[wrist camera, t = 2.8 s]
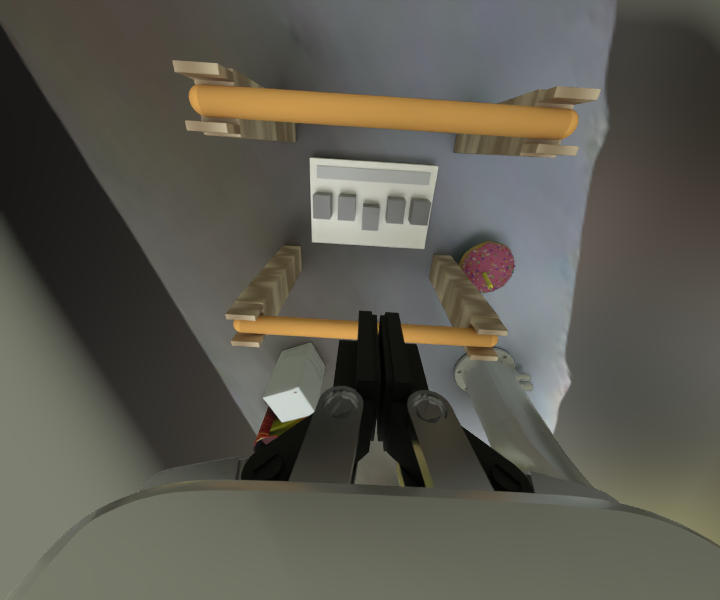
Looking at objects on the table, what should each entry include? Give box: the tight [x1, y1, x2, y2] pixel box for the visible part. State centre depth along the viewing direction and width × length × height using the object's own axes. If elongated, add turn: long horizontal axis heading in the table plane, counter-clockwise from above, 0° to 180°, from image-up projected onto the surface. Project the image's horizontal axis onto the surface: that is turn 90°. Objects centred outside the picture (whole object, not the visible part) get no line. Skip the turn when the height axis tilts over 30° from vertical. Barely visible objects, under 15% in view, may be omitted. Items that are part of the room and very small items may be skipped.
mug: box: [254, 406, 308, 452], centre depth 62 cm, size 10×14×12 cm
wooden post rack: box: [173, 60, 601, 361], centre depth 34 cm, size 29×24×22 cm
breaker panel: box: [310, 157, 438, 249], centre depth 41 cm, size 18×12×6 cm, turn 87°
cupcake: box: [458, 241, 515, 293], centre depth 43 cm, size 9×8×12 cm
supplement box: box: [263, 342, 325, 422], centre depth 54 cm, size 7×7×13 cm
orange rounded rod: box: [189, 84, 579, 140], centre depth 21 cm, size 29×2×2 cm, turn 87°
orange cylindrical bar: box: [233, 315, 498, 347], centre depth 30 cm, size 29×2×2 cm, turn 87°
